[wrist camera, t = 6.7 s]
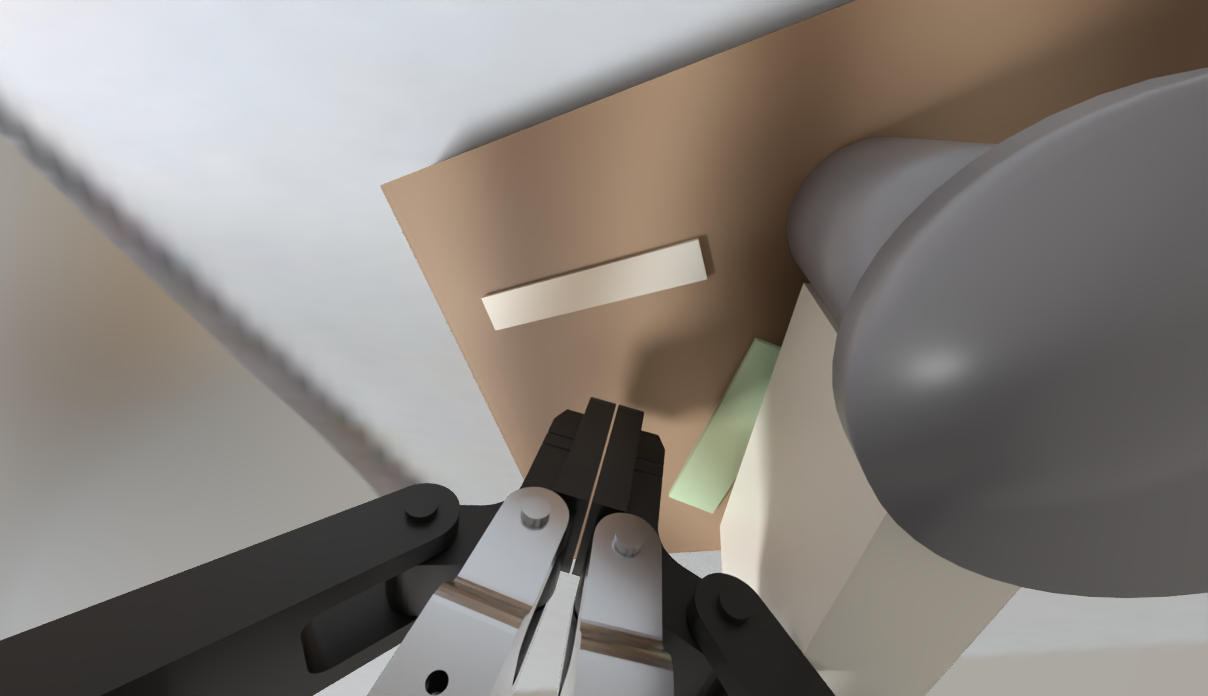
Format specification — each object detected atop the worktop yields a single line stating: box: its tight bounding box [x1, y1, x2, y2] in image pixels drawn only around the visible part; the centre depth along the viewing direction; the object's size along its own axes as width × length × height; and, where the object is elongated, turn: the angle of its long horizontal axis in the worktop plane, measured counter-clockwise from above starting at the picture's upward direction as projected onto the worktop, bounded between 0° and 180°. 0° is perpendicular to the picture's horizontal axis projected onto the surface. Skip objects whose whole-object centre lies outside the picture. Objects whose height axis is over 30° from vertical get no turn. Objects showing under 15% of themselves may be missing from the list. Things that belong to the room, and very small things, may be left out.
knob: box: [720, 68, 1208, 696], centre depth 8 cm, size 12×4×7 cm, turn 173°
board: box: [380, 0, 1208, 559], centre depth 12 cm, size 20×14×2 cm
